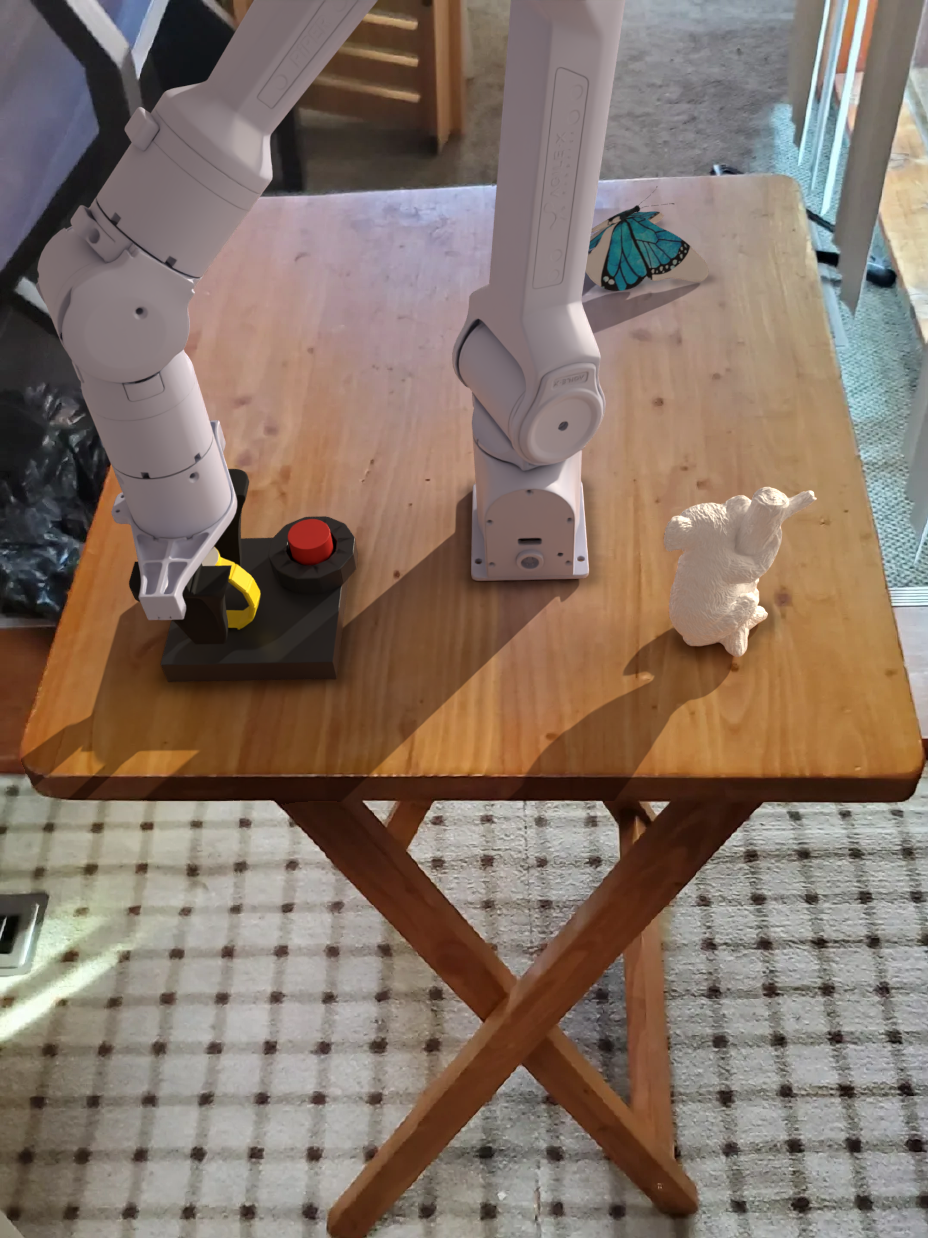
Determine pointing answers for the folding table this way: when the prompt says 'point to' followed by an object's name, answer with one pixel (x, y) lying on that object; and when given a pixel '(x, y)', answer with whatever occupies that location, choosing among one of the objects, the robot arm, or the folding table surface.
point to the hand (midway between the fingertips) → (218, 606)
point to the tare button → (310, 542)
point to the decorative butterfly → (639, 252)
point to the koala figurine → (726, 564)
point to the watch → (243, 584)
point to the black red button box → (276, 617)
